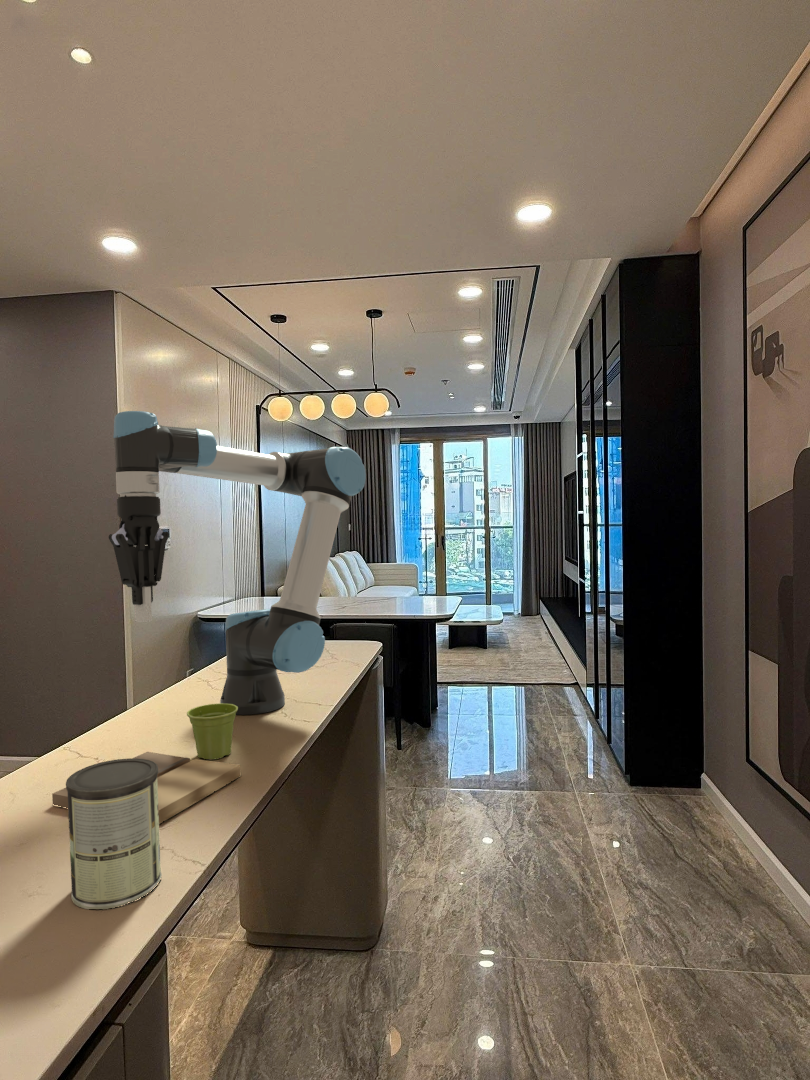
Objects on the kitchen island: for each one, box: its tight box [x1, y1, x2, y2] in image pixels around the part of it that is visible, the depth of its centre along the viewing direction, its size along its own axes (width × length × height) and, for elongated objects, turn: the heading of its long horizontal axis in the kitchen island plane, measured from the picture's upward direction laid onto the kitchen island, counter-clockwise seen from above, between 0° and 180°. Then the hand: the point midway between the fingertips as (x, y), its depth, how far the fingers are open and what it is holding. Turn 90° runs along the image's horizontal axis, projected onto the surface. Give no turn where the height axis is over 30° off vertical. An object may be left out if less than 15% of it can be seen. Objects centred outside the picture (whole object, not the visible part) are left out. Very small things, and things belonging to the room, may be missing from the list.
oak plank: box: [157, 758, 242, 825], centre depth 107 cm, size 20×10×2 cm, turn 157°
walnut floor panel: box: [51, 751, 191, 808], centre depth 112 cm, size 20×10×2 cm, turn 157°
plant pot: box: [186, 702, 238, 760], centre depth 126 cm, size 9×9×9 cm
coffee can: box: [65, 757, 162, 910], centre depth 81 cm, size 10×10×14 cm
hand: (143, 621), depth 124 cm, fingers closed
